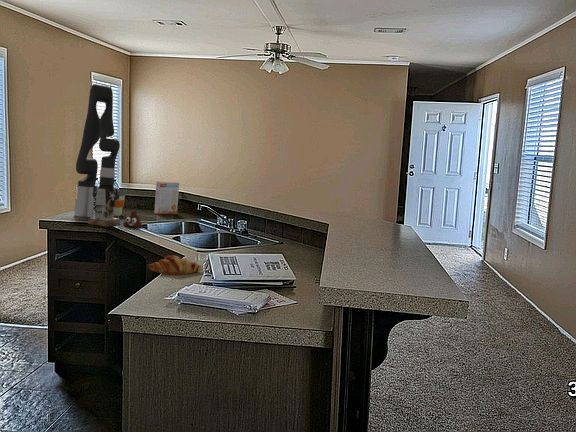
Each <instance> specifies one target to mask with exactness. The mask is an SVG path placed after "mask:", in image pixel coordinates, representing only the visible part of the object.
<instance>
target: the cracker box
mask: <svg viewBox="0 0 576 432" xmlns="http://www.w3.org/2000/svg"><path fill="white" fill-rule="evenodd" d="M179 189H180V182H177V181H161V180H159V181H156V183H155V197H154V212H153V213H154V214H155V215H177V214H178V205H179V204H178V203H179Z"/></svg>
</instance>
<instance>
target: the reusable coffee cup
mask: <svg viewBox="0 0 576 432" xmlns="http://www.w3.org/2000/svg"><path fill="white" fill-rule="evenodd" d="M126 196H127V194H126V190H125V189H121V188H119V199H118V200H116V201H115V206H114V216H113V217H115V216H116V217H117V216H118V217H119V216H122V212H123V208H124V206H125V202H126V200H125V198H126Z"/></svg>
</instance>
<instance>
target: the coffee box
mask: <svg viewBox="0 0 576 432" xmlns="http://www.w3.org/2000/svg"><path fill="white" fill-rule="evenodd" d="M110 193H111V195H112V194H114V196H115V192H114V191H113V192H111V189H107V188H97V197H96V198H95V211H94V213H95V214H94V217H95V218H99V219H110V218H114V217H115V216H114V207H113V208H112V207H111V201H112V199H111V197H110Z"/></svg>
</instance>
